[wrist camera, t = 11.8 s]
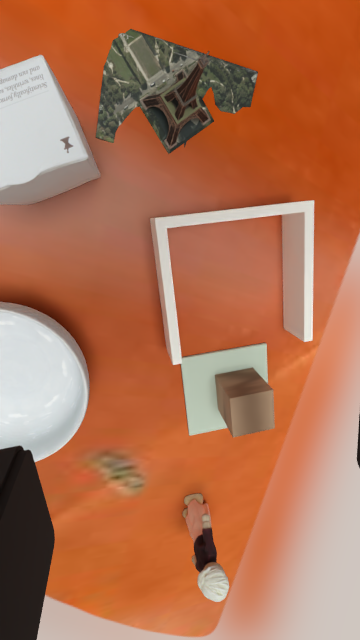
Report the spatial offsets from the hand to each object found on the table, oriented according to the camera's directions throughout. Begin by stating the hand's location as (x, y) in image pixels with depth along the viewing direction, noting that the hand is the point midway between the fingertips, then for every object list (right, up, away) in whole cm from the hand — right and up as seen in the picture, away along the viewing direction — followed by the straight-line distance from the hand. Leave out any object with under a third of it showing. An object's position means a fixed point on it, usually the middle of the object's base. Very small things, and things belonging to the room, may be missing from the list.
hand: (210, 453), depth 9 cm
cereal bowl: (-19, -1, +29) cm, 35 cm away
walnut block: (+6, -5, +34) cm, 35 cm away
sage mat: (+5, -5, +35) cm, 35 cm away
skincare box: (-14, +19, +24) cm, 34 cm away
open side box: (+5, +8, +31) cm, 32 cm away
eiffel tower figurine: (-1, +25, +25) cm, 36 cm away
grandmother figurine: (+1, -22, +39) cm, 45 cm away
